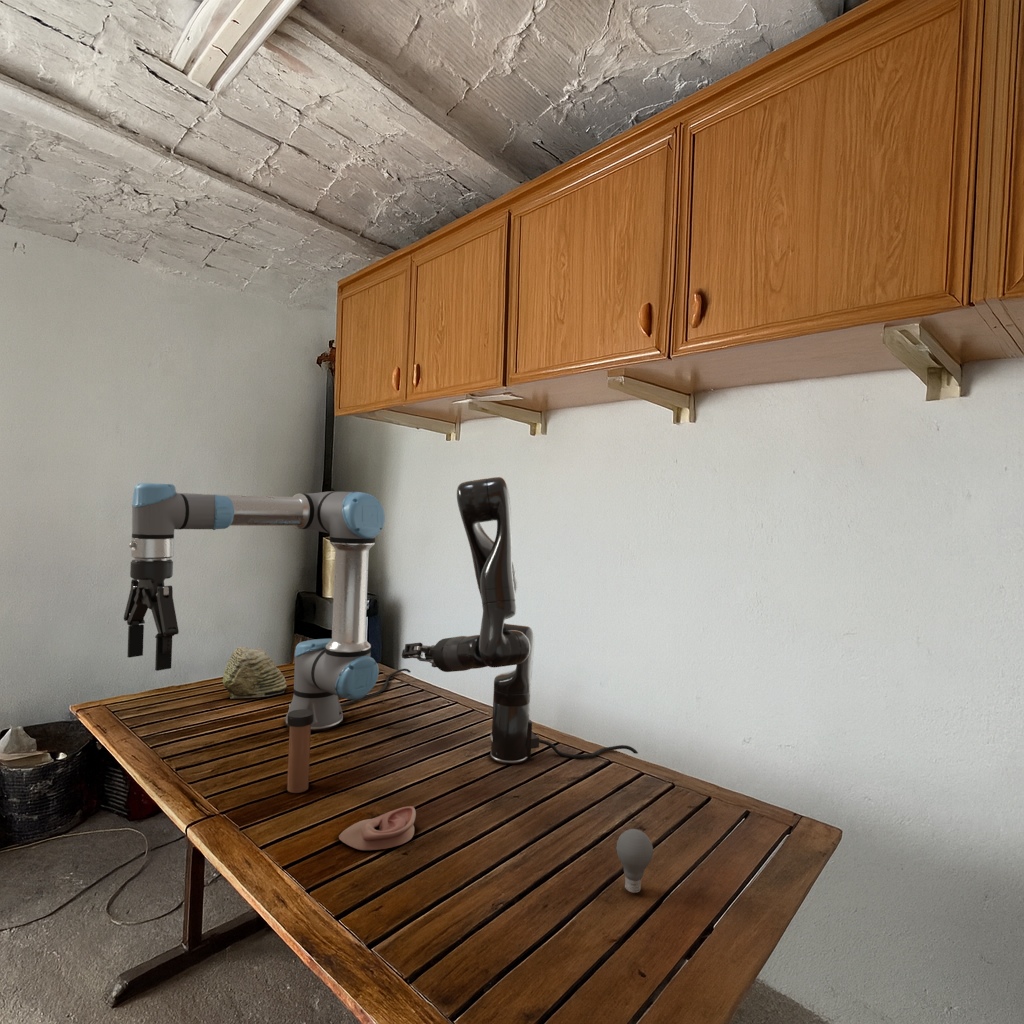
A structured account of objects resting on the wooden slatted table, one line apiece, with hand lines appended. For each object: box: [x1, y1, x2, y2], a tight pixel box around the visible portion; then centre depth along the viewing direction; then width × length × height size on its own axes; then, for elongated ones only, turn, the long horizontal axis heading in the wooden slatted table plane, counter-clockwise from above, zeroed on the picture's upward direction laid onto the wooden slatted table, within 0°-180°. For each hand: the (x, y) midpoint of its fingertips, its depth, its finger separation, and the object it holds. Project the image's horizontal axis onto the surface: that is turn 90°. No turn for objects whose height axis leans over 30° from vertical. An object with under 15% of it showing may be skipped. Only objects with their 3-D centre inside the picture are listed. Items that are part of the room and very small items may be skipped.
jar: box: [286, 724, 312, 794], centre depth 137 cm, size 4×4×16 cm
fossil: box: [222, 646, 288, 699], centre depth 198 cm, size 9×18×15 cm, turn 132°
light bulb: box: [615, 828, 654, 894], centre depth 106 cm, size 6×6×10 cm
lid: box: [287, 709, 313, 727], centre depth 137 cm, size 5×5×2 cm
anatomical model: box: [338, 805, 417, 851], centre depth 119 cm, size 13×4×12 cm
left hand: (148, 662), depth 129 cm, fingers open, 13 cm apart
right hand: (418, 658), depth 153 cm, fingers open, 8 cm apart
